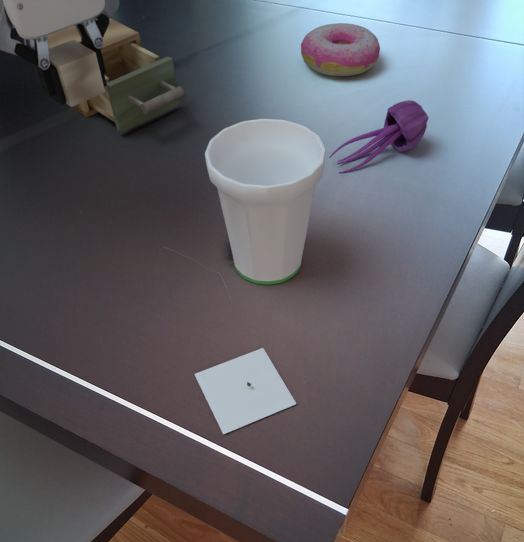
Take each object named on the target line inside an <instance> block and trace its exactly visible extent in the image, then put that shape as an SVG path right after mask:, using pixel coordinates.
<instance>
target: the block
mask: <svg viewBox="0 0 524 542" xmlns="http://www.w3.org/2000/svg"><path fill="white" fill-rule="evenodd" d="M49 58H50V62H51V64H52V65H53V66H55V67H56V69H57V71H58V74H59V78H60V81H61V84H62V88H63V91H64V94H65V97H66V103H65V105H68V106H69V107H71V108H72V107H73V106H75V105H78V104H80V103H82V102H85V101H87V100H89V99H92V98H94V97H96V96H99V95H101V94H103V93H105V89H104V85H103V81H102V77H101V73H100V69H99V65H98V61H97V56H96V53H95V52H94V51H92V50H91V49H89V48H87V47H86V46H84V45H82V44H81V43H79V42H77V41H76V40H74V39H73V40H70V41H68V42H65V43H62V44H60V45H57V46H54V47H52V48H49Z"/></svg>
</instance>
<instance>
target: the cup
mask: <svg viewBox="0 0 524 542" xmlns="http://www.w3.org/2000/svg"><path fill="white" fill-rule="evenodd" d="M326 155H327V149H326V147H325V144H324V143H323V140H322V139H321V137H320V135H318V134H317V133H315V131H312V130H311V129H309V128H308V127H307V126H306V125H303V124H299V123H296V122H293V121H290V120H287V119H278V118H277V119H275V118H258V119H257V118H256V119H251V120H241V121H240V122H238V123H235V124H232V125H230V126H227V127H225V128H223V129H222V130H221V131H219V132H218V133H217V134H216V135H214V136H213V137H212V138H211V139H210V140H209V142H208V144H207V146H206V149H205V151H204V158H205V164H206V165H205V166H206V169H207V174H208V177H209V181H210V182H211V184H213V186H215V188H216V190H217V193H218V199H219V202H220V207H221V212H222V216H223V220H224V223H225V228H226V232H227V237H228V241H229V245H230V249H231V254H232V259H233V266H234V269H235V272H237V273H238V274H239V276H241V277H242V278H243V279H244V280H246V281H248V282H250V283H253V284H256V285H267V286H268V285H276V284H281V283H284V282H286V281H289V280H290V279H291V278H293V277H294V276H295V275H296V274H297V273H298V272H299V270H300V269H301V266H302V259H303V254H304V250H305V245H306V244H305V243H306V240H307V239H306V238H307V233H308V229H309V223H310V217H311V211H312V206H313V202H314V197H315V191H316V186H317V184H318V182H319V181H320V180H321V179H322V178H323V175H324V169H325V164H326Z"/></svg>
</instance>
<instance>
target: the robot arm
mask: <svg viewBox="0 0 524 542" xmlns="http://www.w3.org/2000/svg"><path fill="white" fill-rule="evenodd" d="M119 6H120V0H0V51H1V52H5V53H7V54H9V55H10V54H11V55H13V56H16V57H19V58H21V59H23V60H24V61H26V62H28V63H29V64H32V65H33V64H34V65H33V67H35V68H34V71H35V70H36V71H35V74H36V73H37V74H36V76H38V77H37V79H38V82H39V84H40V87H41V91H42V92H43V93H44V95H45V96H46V97H48V98H50V99H52V100H53V101H55V102H56V103H57V104H58V105H60V106H62V105H66V97H65V94H64V91H63V88H62V84H61V81H60V78H59V74H58V71H57V69H56V67H55V66H53V65H52V64H51V62H50V58H49V48H48V38H47V35H49V34H52V33H55V32H58V31H61V30H63V29H66V28H69V27H72V26H74V25H75V27H76V29H77V31H78V33H79V35H80V37H81V42H79V43H81V44H82V45H84V46H86V47H87V48H89V49H91V50H92V51H94V52H95V53H96V56H97V61H98V65H99V69H100V73H101V77H102V81H103V85H104V87H105V86H107V84H106V79H105V75H104V74H106V69H105V65H104V61H103V57H102V53H101V48H102V47H103V45H104V40H103V37H104V35H105V32H106V30H107V28H108V25H109V20H110V18H111V19H113V16H114V15H115V14H116V11H117V10H118V8H119ZM12 29H15V31H16V32H17V33H16V34H18V36H19V37H20V38H22V39H23V42H21V41H20V40H17V39H13V38H12V37H11V33H12Z"/></svg>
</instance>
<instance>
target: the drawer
mask: <svg viewBox="0 0 524 542" xmlns="http://www.w3.org/2000/svg"><path fill="white" fill-rule="evenodd" d="M141 46H142V45H141ZM141 46H139V45H137V44H135V43H133V42H129V43H126V44H124V45H121V46H119V47H116V48H114V49H112V50H109V51H107V52H104V53H102V57H103V61H104V65H105V69H106V74H104V75H105V79H106V84H107V86H105V87H104V89H105V93H103V94H101V95H99V96H96V97H94V98H92V99H89V100H87V103H88V105H89V106H91V107H92V108H94V109H95V110H97V111H98V113H100V114H101V115H102V116H105V117H106V118H107V119H109V120H110V121H112V122H114V123H115V127H116V130H117V131H119V132H120V133H124V132H126V131H128V130H130V129H132V128H134V127H136V126H139V125H140V124H143V123H144V122H147V121H148V120H150V119H152V118H155V117H157V116H159V115H160V114H162V113H165V112H167V111H169V110H171V109H173V108H175V107H177V106H180V99H182V98H183V97H184V96H185V91H184V89H183V87H182V86H181V85H179V86H177V78H176V73H175V66H174V60H173V59H174V58H172V57H171V56H168V55H167V56H165V57H163V58H160V56H159V55H157V54H156V53H154V52H152V51H150V50H148V49H146V48H144V47H143V46H142V47H141Z"/></svg>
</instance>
